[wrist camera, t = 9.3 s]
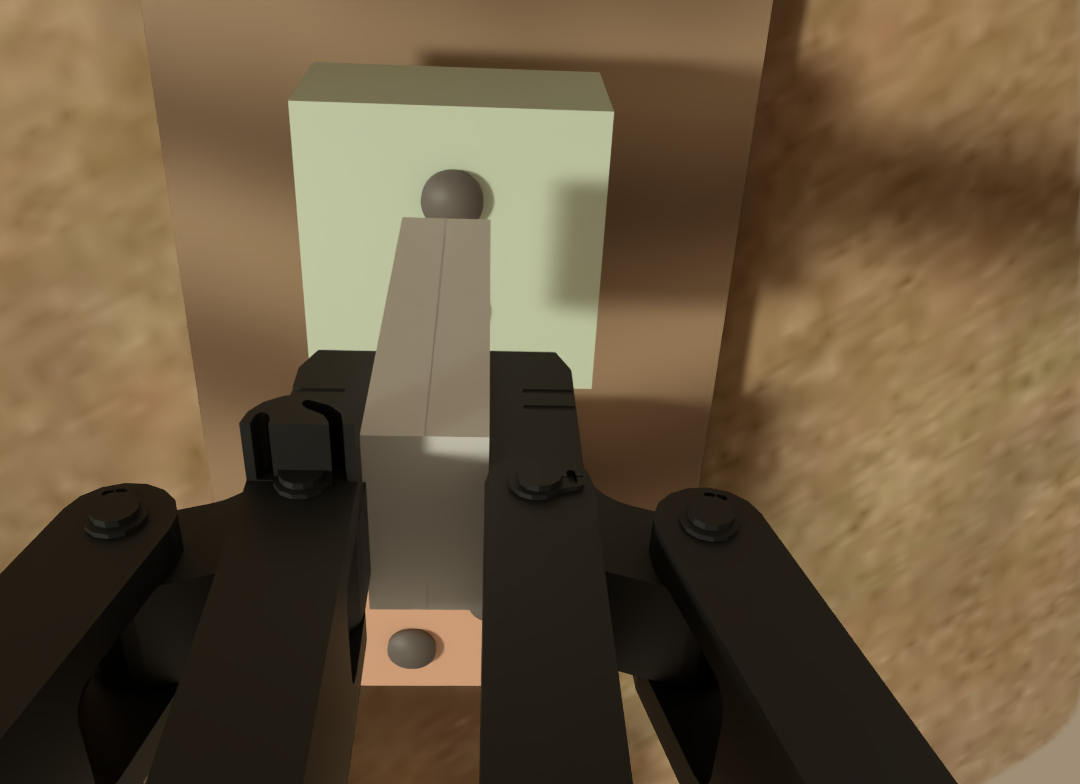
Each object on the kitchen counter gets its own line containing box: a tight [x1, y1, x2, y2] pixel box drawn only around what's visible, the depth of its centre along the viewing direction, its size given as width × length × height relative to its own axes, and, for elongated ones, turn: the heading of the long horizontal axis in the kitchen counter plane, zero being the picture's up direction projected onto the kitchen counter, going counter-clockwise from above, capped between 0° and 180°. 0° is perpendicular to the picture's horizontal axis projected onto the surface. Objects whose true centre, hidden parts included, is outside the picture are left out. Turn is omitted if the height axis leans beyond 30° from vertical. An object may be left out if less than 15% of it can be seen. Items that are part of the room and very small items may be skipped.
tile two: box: [288, 62, 614, 389], centre depth 22 cm, size 6×6×3 cm
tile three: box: [361, 590, 482, 686], centre depth 26 cm, size 6×6×3 cm
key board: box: [140, 0, 773, 511], centre depth 25 cm, size 28×14×2 cm, turn 177°
